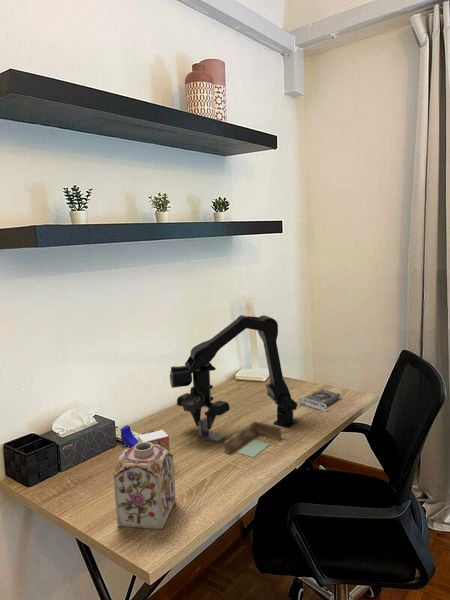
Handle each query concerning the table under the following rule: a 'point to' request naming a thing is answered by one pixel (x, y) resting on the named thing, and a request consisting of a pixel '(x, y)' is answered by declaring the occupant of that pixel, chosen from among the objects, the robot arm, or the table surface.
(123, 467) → the decorative jar
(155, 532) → the table surface
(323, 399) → the graphics card
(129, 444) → the blue saddle bracket
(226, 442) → the corner walls
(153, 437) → the small box
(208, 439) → the angle bracket
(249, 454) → the mat
